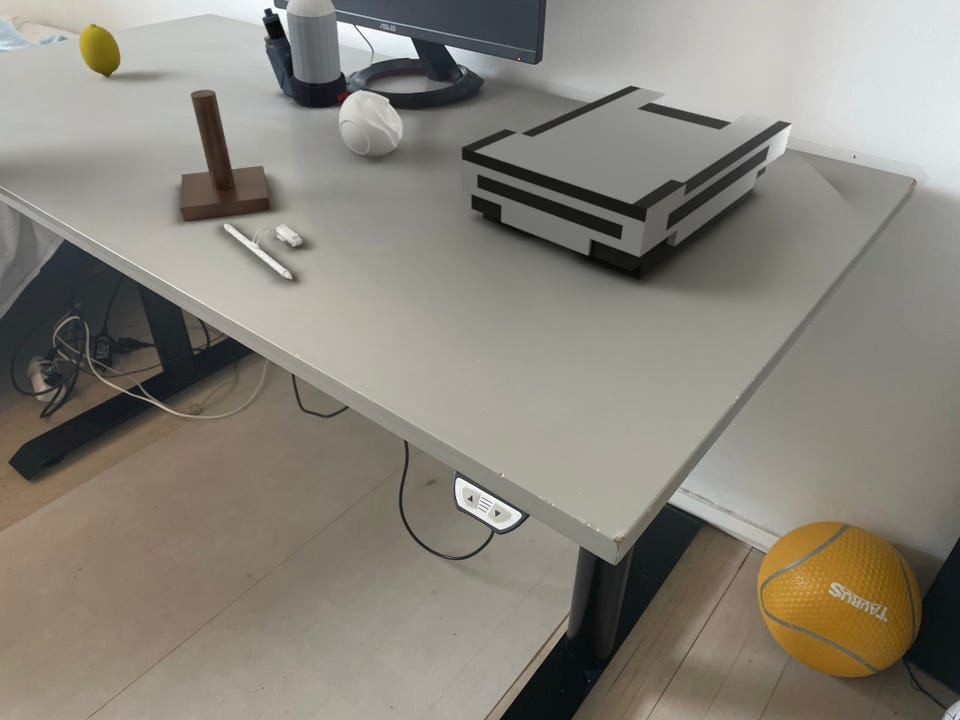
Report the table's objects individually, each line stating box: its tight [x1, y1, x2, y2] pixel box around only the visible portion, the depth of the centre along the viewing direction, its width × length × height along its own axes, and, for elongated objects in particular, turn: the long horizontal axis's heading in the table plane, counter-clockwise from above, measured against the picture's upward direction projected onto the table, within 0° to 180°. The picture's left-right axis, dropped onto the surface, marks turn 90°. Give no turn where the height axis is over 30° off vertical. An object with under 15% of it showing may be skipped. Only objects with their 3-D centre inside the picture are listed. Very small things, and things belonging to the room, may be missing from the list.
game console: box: [461, 85, 793, 281], centre depth 77 cm, size 21×32×8 cm, turn 139°
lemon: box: [78, 23, 121, 78], centre depth 113 cm, size 6×6×8 cm
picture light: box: [223, 223, 303, 280], centre depth 70 cm, size 14×4×2 cm, turn 41°
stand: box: [179, 89, 272, 222], centre depth 76 cm, size 9×9×12 cm
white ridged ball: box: [338, 90, 403, 158], centre depth 88 cm, size 8×8×8 cm
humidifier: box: [286, 0, 349, 108], centre depth 98 cm, size 8×8×25 cm
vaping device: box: [261, 7, 294, 97], centre depth 104 cm, size 3×5×12 cm, turn 41°
